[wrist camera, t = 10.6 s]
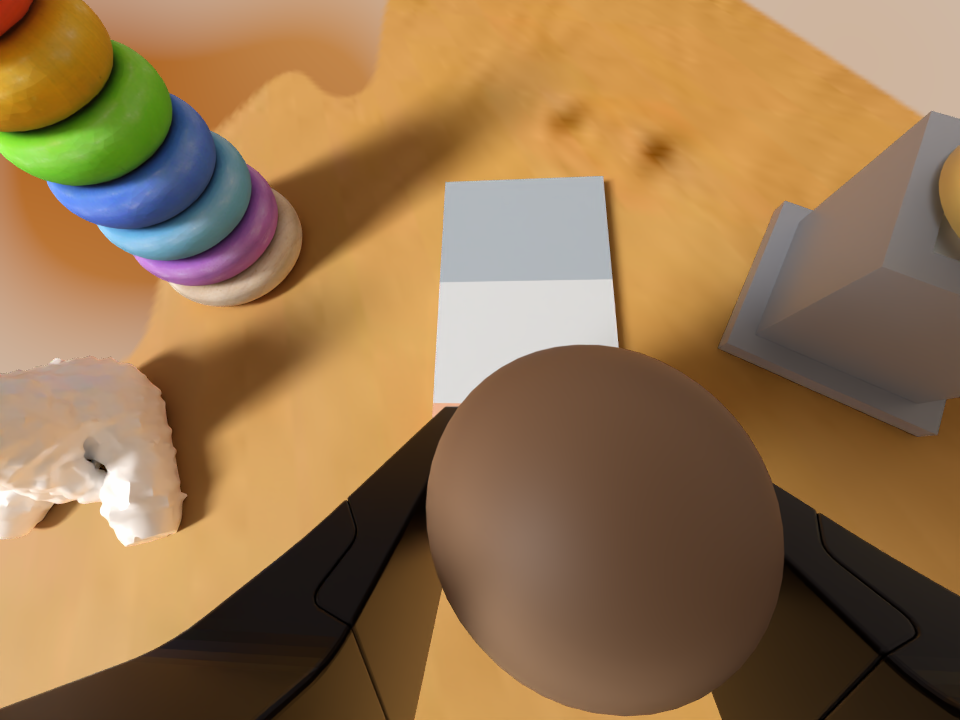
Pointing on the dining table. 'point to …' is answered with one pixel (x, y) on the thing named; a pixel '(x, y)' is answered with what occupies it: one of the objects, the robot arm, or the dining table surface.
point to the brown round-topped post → (605, 530)
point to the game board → (519, 276)
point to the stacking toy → (137, 157)
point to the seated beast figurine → (87, 448)
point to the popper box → (863, 289)
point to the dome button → (950, 208)
